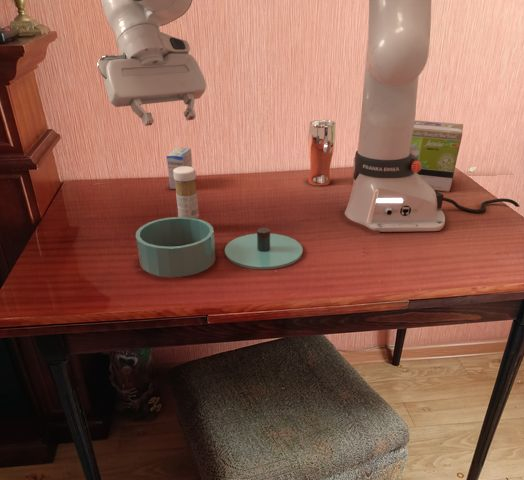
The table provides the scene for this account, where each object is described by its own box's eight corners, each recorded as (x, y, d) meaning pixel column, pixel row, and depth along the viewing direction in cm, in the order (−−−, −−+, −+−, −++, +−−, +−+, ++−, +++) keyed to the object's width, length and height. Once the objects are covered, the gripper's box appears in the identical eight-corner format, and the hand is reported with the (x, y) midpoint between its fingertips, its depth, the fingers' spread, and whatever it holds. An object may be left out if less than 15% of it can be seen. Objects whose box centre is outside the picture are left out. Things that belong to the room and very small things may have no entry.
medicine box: (177, 179, 143) (174, 147, 138) (193, 180, 143) (190, 147, 137) (169, 189, 137) (165, 155, 132) (186, 190, 136) (183, 156, 131)
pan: (223, 248, 107) (221, 219, 104) (204, 282, 96) (201, 250, 92) (155, 243, 110) (151, 214, 106) (129, 276, 98) (123, 245, 94)
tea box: (390, 187, 137) (399, 127, 128) (395, 175, 145) (403, 118, 136) (450, 192, 133) (463, 131, 125) (451, 180, 141) (463, 122, 132)
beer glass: (334, 179, 142) (339, 120, 134) (328, 187, 137) (333, 127, 128) (310, 176, 144) (312, 118, 135) (303, 184, 139) (305, 125, 130)
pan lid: (306, 241, 110) (307, 217, 107) (297, 275, 98) (298, 249, 95) (234, 236, 112) (233, 212, 109) (216, 269, 100) (214, 244, 97)
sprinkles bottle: (192, 225, 118) (187, 164, 110) (204, 231, 115) (199, 169, 107) (175, 230, 115) (168, 168, 107) (186, 236, 112) (180, 173, 104)
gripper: (97, 44, 94) (126, 118, 94) (194, 41, 104) (220, 107, 105) (89, 66, 99) (117, 135, 100) (183, 60, 110) (207, 123, 110)
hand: (170, 121), depth 102 cm, fingers open, 8 cm apart
